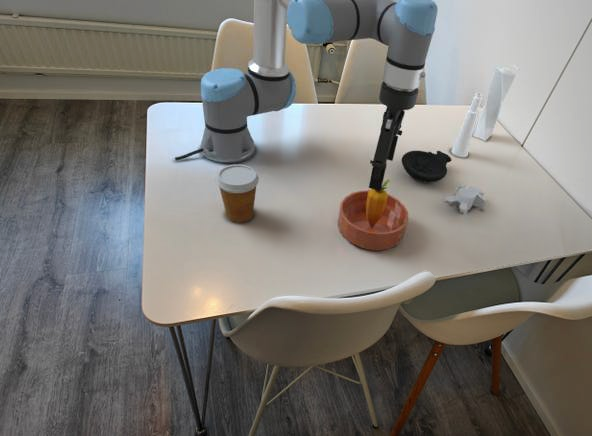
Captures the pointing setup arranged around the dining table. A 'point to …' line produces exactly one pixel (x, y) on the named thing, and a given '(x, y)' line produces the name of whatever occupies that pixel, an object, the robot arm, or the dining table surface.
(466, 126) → the cosmetic bottle
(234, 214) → the disposable coffee cup
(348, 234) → the bowl
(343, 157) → the dining table surface
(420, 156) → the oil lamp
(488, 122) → the skyscraper
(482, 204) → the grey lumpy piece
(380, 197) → the carrot
